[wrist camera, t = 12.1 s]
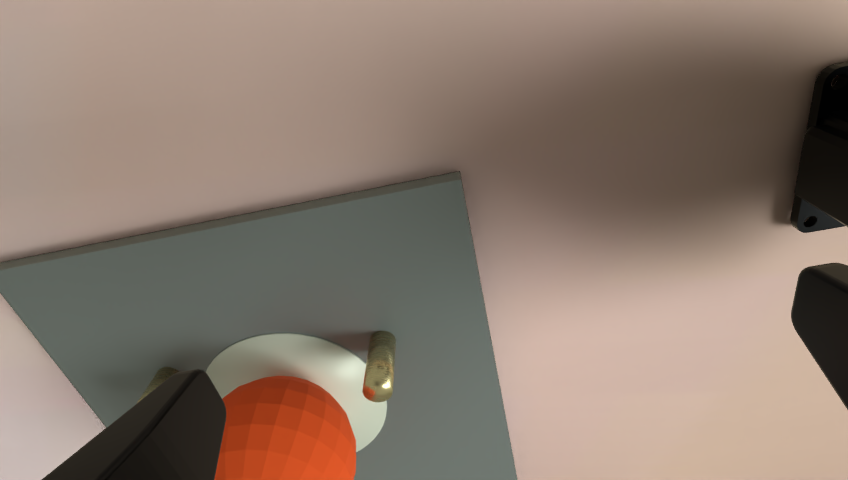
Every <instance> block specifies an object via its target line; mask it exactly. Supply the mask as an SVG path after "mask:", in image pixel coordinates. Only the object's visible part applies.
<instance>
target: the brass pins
mask: <svg viewBox="0 0 848 480" xmlns="http://www.w3.org/2000/svg"><path fill="white" fill-rule="evenodd" d="M395 351H396V338H395V336H394V335H393V334H392V333H390V332H388V331H377V332H375V333H373V334H372V335H371V337H370V341H369V348H368V355H367V362H366V369H365V376H364V383H363V391H362V392H363V395H364V397H365V398H366V399H368V400H370V401H372V402H384V401H386V400H388V399H389V398H390V397H391V396H392V393H393V379H394V365H395ZM177 372H179V371H178V370H176V369H174V368H171V367H163V368H160V369H159V370H158V371H157V373H156V374H155V376H154V377H153V379H152V381H151V382H150V384H149V385H148V387H147V388H146V390H145V391H144V393H143V394H142V396H141V397H140V399H139V400H138V402H139V401H141V400H142V399H143V398H144V397H145V396H147V395H148V394H149V393H150V392H152V391H153V390H154V389H155V388H157V387H158V386H159V385H160V384H162V383H163V382H164V381H165V380H167V379H168V378H169V377H170V376H172V375H173V374H175V373H177ZM138 402H137V403H138Z"/></svg>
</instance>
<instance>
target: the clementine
mask: <svg viewBox="0 0 848 480" xmlns="http://www.w3.org/2000/svg"><path fill="white" fill-rule="evenodd" d="M222 400H223V401H224V404H225V407H226V422H225V427H224V433H223V438H222V443H221V448H220V453H219V458H218V464H217V469H216V474H215V479H214V480H354V476H355V473H356V439H355V436H354V433H353V431H352V428H351V425H350V422H349V419H348V417H347V414H346V412H345V411H344V409H343V408H342V407H341V406H340V404H339V403H338V402H337V401H336V400H335V399H334V397H333V396H332V395H331V394H330V393H328V392H327V391H326V390H324V389H323V388H322V387H320V386H319V385H317V384H314V383H312V382H310V381H308V380H305V379H301V378H297V377H293V376H272V377H264V378H261V379H258V380H255V381H252V382H250V383H247V384H244V385H241V386H239V387H237V388H236V389H234V390H233V391H232V392H230V393H229V394H227V395H226V396H225V397H224V398H222Z"/></svg>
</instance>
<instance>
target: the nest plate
mask: <svg viewBox="0 0 848 480" xmlns="http://www.w3.org/2000/svg"><path fill="white" fill-rule="evenodd" d="M0 293H1V294H2V296H3V297H4V298H5V299H6V301H7V302H8V303H9V305H10V306H11V307H12V308H13V310H14V311H15V312H16V313H17V315H18V316H19V317H20V318H21V320H22V321H23V322H24V324H25V325H26V326H27V327H28V329H29V330H30V331H31V332H32V334H33V335H34V336H35V338H36V339H37V340H38V341H39V343H40V344H41V345H42V346H43V348H44V349H45V350H46V352H47V353H48V354H49V355H50V357H51V358H52V359H53V360H54V362H55V363H56V364H57V365H58V367H59V368H60V369H61V371H62V372H63V373H64V374H65V376H66V377H67V378H68V379H69V381H70V382H71V383H72V385H73V386H74V387H75V388H76V390H77V391H78V392H79V393H80V395H81V396H82V397H83V398H84V400H85V401H86V402H87V404H88V405H89V406H90V407H91V409H92V410H93V411H94V412H95V414H96V415H97V416H98V418H99V419H100V420H101V421H102V423H103V424H104V425H105V426H106V428H107V427H108V426H109V425H111V424H112V423H113V422H114V421H116V420H117V419H118V418H119V417H121V416H122V415H123V414H124V413H126V412H127V411H128V410H129V409H131V408H132V407H133V406H134V405H136V404H137V402H138V400H139V399H140V397H141V396H142V394H143V393H144V391H145V390H146V388H147V387H148V385H149V384H150V382H151V381H152V379H153V377H154V376H155V374H156V373H157V371H158V370H159V369H160V368H163V367H171V368H174V369H176V370H178V371H179V372H181V371H187V370H193V369H202V370H203V371H205V372H206V373H207V374H208V376H209V378H210V379H211V381H212V383H213V384H214V386H215V388H216V389H217V391H218V393H219V395H220V396H221V398H224V397H225V396H226V395H227V394H229V393H230V392H232V391H233V390H234V389H236V388H237V387H239V386H241V385H244V384H247V383H250V382H252V381H255V380H258V379H261V378H264V377H272V376H293V377H297V378H301V379H305V380H308V381H310V382H312V383H314V384H317V385H319V386H320V387H322V388H323V389H324V390H326V391H327V392H328V393H330V394H331V395H332V396H333V397H334V399H335V400H336V401H337V402H338V403H339V404H340V406H341V407H342V408H343V409H344V411H345V412H346V414H347V417H348V419H349V422H350V425H351V428H352V431H353V433H354V436H355V439H356V473H355V476H354V480H517V475H516V470H515V465H514V459H513V454H512V449H511V443H510V438H509V433H508V427H507V422H506V417H505V411H504V406H503V401H502V395H501V390H500V385H499V379H498V374H497V368H496V363H495V358H494V352H493V347H492V342H491V336H490V331H489V326H488V320H487V315H486V310H485V304H484V299H483V294H482V288H481V283H480V278H479V272H478V267H477V262H476V256H475V251H474V246H473V240H472V235H471V230H470V224H469V219H468V213H467V208H466V203H465V197H464V192H463V187H462V181H461V176H460V171H459V172H454V173H449V174H444V175H439V176H434V177H429V178H424V179H419V180H414V181H409V182H404V183H399V184H394V185H389V186H384V187H379V188H374V189H369V190H364V191H359V192H354V193H349V194H344V195H339V196H334V197H329V198H324V199H319V200H314V201H309V202H304V203H299V204H293V205H288V206H283V207H278V208H273V209H268V210H263V211H258V212H253V213H248V214H243V215H238V216H233V217H228V218H223V219H218V220H213V221H208V222H203V223H198V224H193V225H188V226H183V227H178V228H173V229H168V230H163V231H158V232H153V233H148V234H143V235H138V236H133V237H128V238H123V239H118V240H112V241H107V242H102V243H97V244H92V245H87V246H82V247H77V248H72V249H67V250H62V251H57V252H52V253H47V254H42V255H37V256H32V257H27V258H22V259H17V260H12V261H7V262H2V263H0ZM377 331H388V332H390V333H392V334H393V335H394V336H395V338H396V351H395V365H394V379H393V393H392V396H391V397H390V398H389V399H388V400H386V401H384V402H372V401H370V400H368V399H366V398H365V397H364V395H363V392H362V391H363V383H364V376H365V369H366V362H367V355H368V348H369V341H370V337H371V335H372V334H373V333H375V332H377Z"/></svg>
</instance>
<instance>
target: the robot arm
mask: <svg viewBox="0 0 848 480" xmlns="http://www.w3.org/2000/svg"><path fill="white" fill-rule="evenodd" d="M837 75H838V80H837V82H836V83H835V84H834V85H832V86H831V82H832V80H833V79H834V78H835V77H836V76H837ZM808 217H810V218H809V219H808V220H807V221H806V222H804V221H805V220H806V219H807V218H808ZM791 224H792V226H793V227H795V228H796V229H798V230H799V231H801V232H803V233H807V232H814V231H820V230H826V229H831V228H837V227H843V226H847V227H848V62H844V63H839V64H834V65H831V66H829V67H827V68H825V69H824V70H823V71H821V73H820V74H819V75H818V77H817V79H816V82H815V87H814V92H813V98H812V103H811V109H810V114H809V120H808V126H807V131H806V134H805V137H804V142H803V148H802V153H801V159H800V165H799V170H798V176H797V181H796V187H795V198H794V203H793V209H792V214H791ZM791 318H792V323H793V326H794V328H795V330H796V332H797V333H798V335H799V336H800V338H801V339H802V341H803V342H804V344H805V345H806V347H807V349H808V350H809V352H810V353H811V355H812V356H813V358H814V359H815V361H816V362H817V364H818V365H819V367H820V368H821V370H822V371H823V373H824V374H825V376H826V377H827V379H828V380H829V382H830V384H831V385H832V387H833V388H834V390H835V391H836V393H837V394H838V396H839V397H840V399H841V400H842V402H843V403H844V405H845V406H846V408H847V409H848V265H844V264H840V263H829V264H823V265H817V266H811V267H807V268H805V269H803V270H802V271H801V273H800V274H799V277H798V281H797V286H796V291H795V296H794V301H793V306H792V311H791ZM225 422H226V407H225V404H224V401H223V400H222V398H221V396H220V395H219V393H218V391H217V389H216V388H215V386H214V384H213V383H212V381H211V379H210V378H209V376H208V374H207V373H206V372H205V371H203V370H202V369H193V370H187V371H181V372H177V373H175V374H173V375H172V376H170V377H169V378H168V379H167V380H165V381H164V382H163V383H162V384H160V385H159V386H158V387H157V388H155V389H154V390H153V391H152V392H150V393H149V394H148V395H147V396H145V397H144V398H143V399H142V400H141V401H139V402H138V403H137V404H136V405H134V406H133V407H132V408H131V409H129V410H128V411H127V412H126V413H124V414H123V415H122V416H121V417H119V418H118V419H117V420H116V421H114V422H113V423H112V424H111V425H109V426H108V427H107V428H106V429H104V430H103V431H102V432H101V433H99V434H98V435H97V436H96V437H94V438H93V439H92V440H91V441H89V442H88V443H87V444H86V445H84V446H83V447H82V448H81V449H79V450H78V451H77V452H76V453H74V454H73V455H72V456H71V457H69V458H68V459H67V460H66V461H64V462H63V463H62V464H61V465H59V466H58V467H57V468H56V469H54V470H53V471H52V472H51V473H49V474H48V475H47V476H46V477H44V478H43V479H42V480H214V479H215V474H216V469H217V464H218V458H219V453H220V448H221V443H222V438H223V433H224V427H225Z"/></svg>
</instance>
